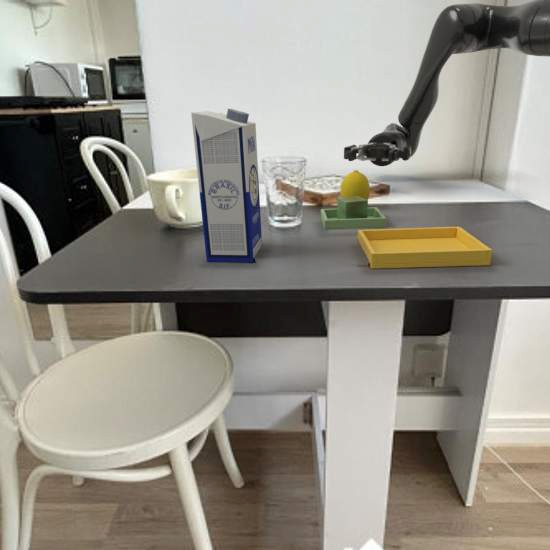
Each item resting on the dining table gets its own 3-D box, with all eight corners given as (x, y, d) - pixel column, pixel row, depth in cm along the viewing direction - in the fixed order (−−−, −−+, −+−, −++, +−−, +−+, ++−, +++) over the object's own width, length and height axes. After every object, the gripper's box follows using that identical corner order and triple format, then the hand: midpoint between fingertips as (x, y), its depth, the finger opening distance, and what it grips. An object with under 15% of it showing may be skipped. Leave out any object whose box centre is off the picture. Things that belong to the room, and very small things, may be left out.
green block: (357, 218, 79) (358, 195, 77) (367, 223, 75) (368, 200, 74) (336, 220, 78) (337, 197, 76) (345, 225, 74) (345, 202, 73)
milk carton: (220, 246, 68) (207, 109, 61) (262, 247, 67) (254, 107, 60) (206, 262, 62) (190, 110, 54) (252, 262, 60) (243, 108, 53)
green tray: (376, 218, 80) (376, 207, 80) (386, 230, 73) (386, 218, 72) (320, 220, 81) (320, 209, 80) (324, 232, 73) (324, 220, 72)
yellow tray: (457, 239, 66) (459, 226, 66) (490, 265, 56) (492, 249, 55) (357, 243, 67) (357, 229, 66) (370, 268, 57) (371, 253, 56)
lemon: (338, 214, 84) (338, 172, 81) (342, 207, 89) (343, 167, 86) (367, 215, 83) (368, 172, 80) (370, 208, 88) (371, 167, 85)
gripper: (357, 131, 107) (337, 137, 93) (418, 131, 101) (405, 137, 88) (356, 163, 110) (336, 173, 96) (415, 164, 104) (403, 175, 90)
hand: (369, 156), depth 92 cm, fingers open, 8 cm apart
